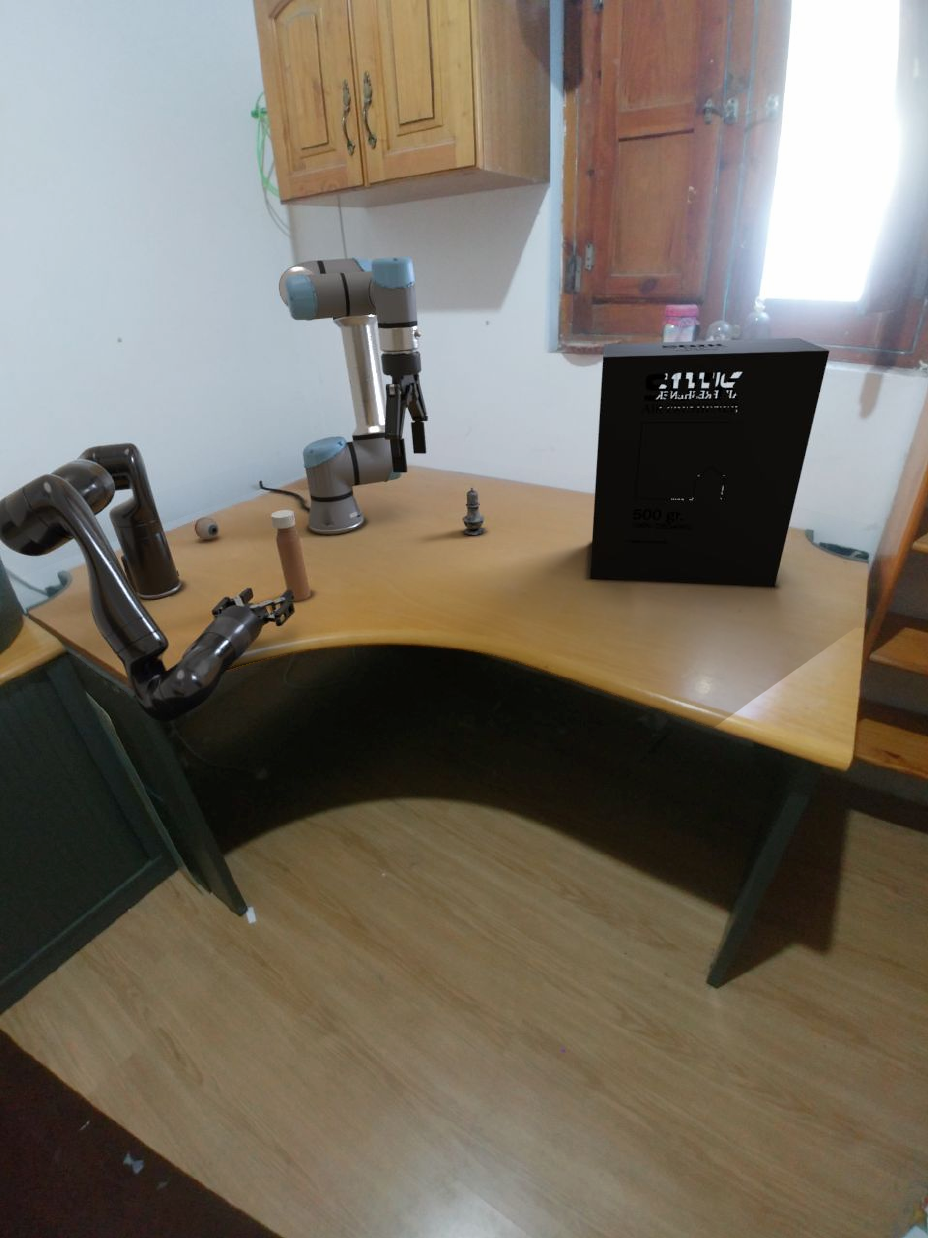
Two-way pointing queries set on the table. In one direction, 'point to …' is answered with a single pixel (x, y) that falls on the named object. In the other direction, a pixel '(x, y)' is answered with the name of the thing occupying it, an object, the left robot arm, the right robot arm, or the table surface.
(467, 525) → the salt shaker
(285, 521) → the cap
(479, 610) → the table surface
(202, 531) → the eyeball
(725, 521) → the cardboard box
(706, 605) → the table surface
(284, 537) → the bottle
